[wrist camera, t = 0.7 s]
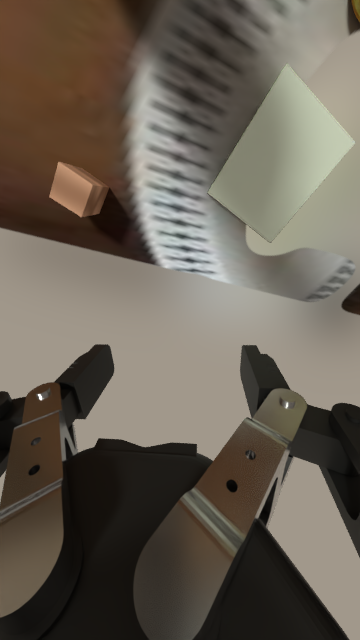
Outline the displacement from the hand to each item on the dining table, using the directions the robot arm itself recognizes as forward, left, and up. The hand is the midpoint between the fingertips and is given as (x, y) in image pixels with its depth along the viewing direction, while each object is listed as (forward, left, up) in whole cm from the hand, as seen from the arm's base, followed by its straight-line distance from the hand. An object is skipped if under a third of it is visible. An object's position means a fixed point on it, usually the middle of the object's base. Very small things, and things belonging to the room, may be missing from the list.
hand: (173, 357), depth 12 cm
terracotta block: (0, -16, -25) cm, 29 cm away
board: (-16, +4, -25) cm, 30 cm away
